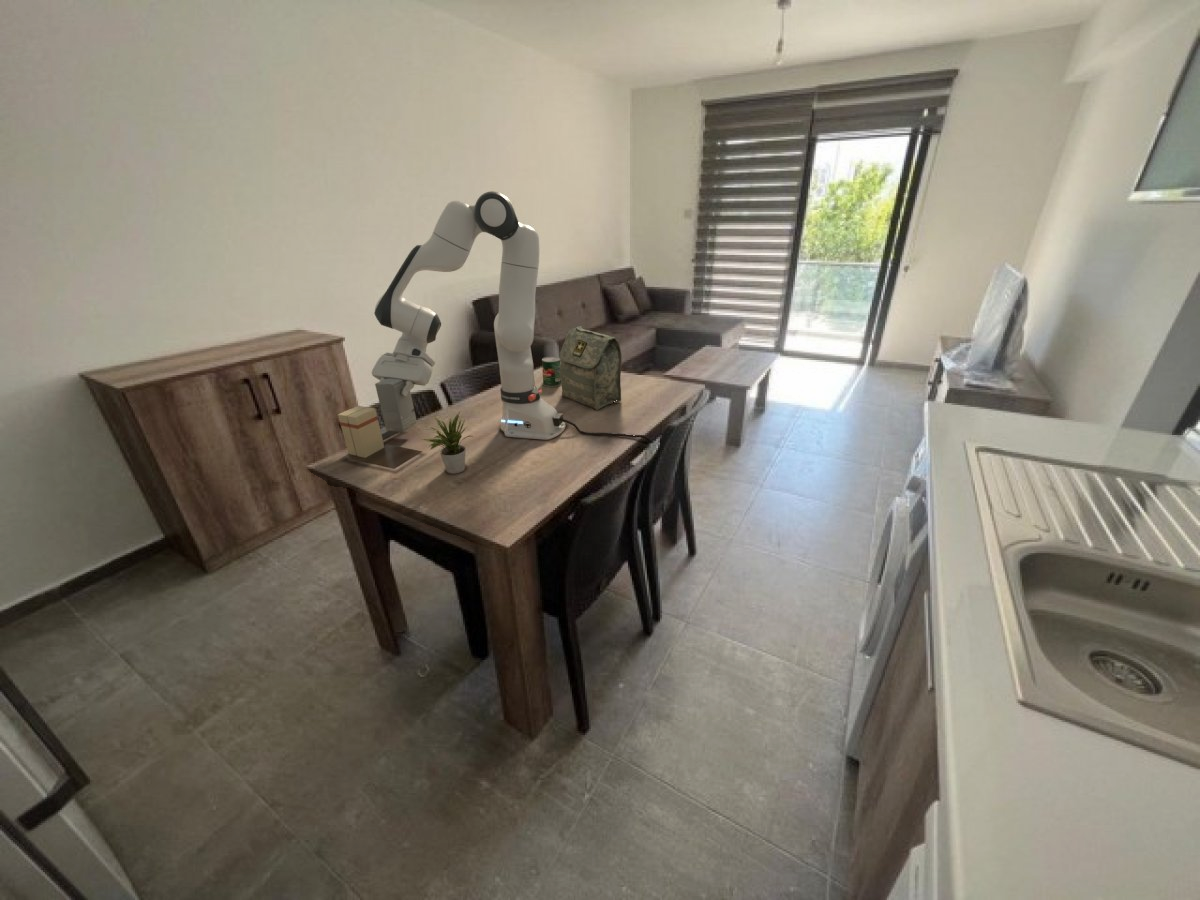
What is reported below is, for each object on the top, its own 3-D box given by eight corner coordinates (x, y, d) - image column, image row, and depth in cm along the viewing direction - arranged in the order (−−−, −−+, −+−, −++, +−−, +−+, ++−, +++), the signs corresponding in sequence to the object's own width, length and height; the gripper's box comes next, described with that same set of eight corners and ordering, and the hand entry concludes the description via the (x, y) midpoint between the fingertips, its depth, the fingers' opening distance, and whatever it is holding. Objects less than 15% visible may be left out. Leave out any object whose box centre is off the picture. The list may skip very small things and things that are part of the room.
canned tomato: (541, 386, 204) (539, 361, 199) (545, 380, 211) (544, 356, 206) (559, 387, 203) (557, 361, 198) (563, 381, 210) (562, 356, 205)
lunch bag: (556, 397, 192) (553, 328, 180) (587, 388, 202) (586, 322, 189) (594, 412, 177) (593, 339, 165) (624, 402, 187) (626, 331, 174)
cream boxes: (384, 447, 149) (375, 408, 143) (365, 457, 143) (355, 417, 137) (367, 443, 151) (358, 405, 145) (348, 454, 145) (337, 414, 139)
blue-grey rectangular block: (404, 432, 162) (402, 423, 160) (382, 444, 154) (379, 435, 152) (395, 430, 163) (393, 422, 162) (372, 442, 155) (370, 433, 153)
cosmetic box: (403, 433, 150) (394, 385, 143) (383, 431, 151) (372, 383, 144) (418, 422, 157) (410, 376, 150) (399, 420, 159) (389, 374, 151)
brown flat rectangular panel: (423, 454, 147) (423, 451, 146) (395, 472, 137) (394, 468, 136) (373, 444, 154) (372, 441, 153) (343, 460, 144) (342, 457, 143)
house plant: (439, 455, 146) (431, 405, 139) (484, 456, 146) (478, 406, 139) (422, 479, 133) (412, 425, 126) (471, 479, 133) (464, 425, 126)
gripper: (376, 347, 153) (359, 385, 149) (427, 352, 146) (411, 393, 142) (389, 357, 159) (374, 394, 155) (439, 362, 152) (424, 402, 148)
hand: (392, 393), depth 149 cm, fingers closed on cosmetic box, 7 cm apart
